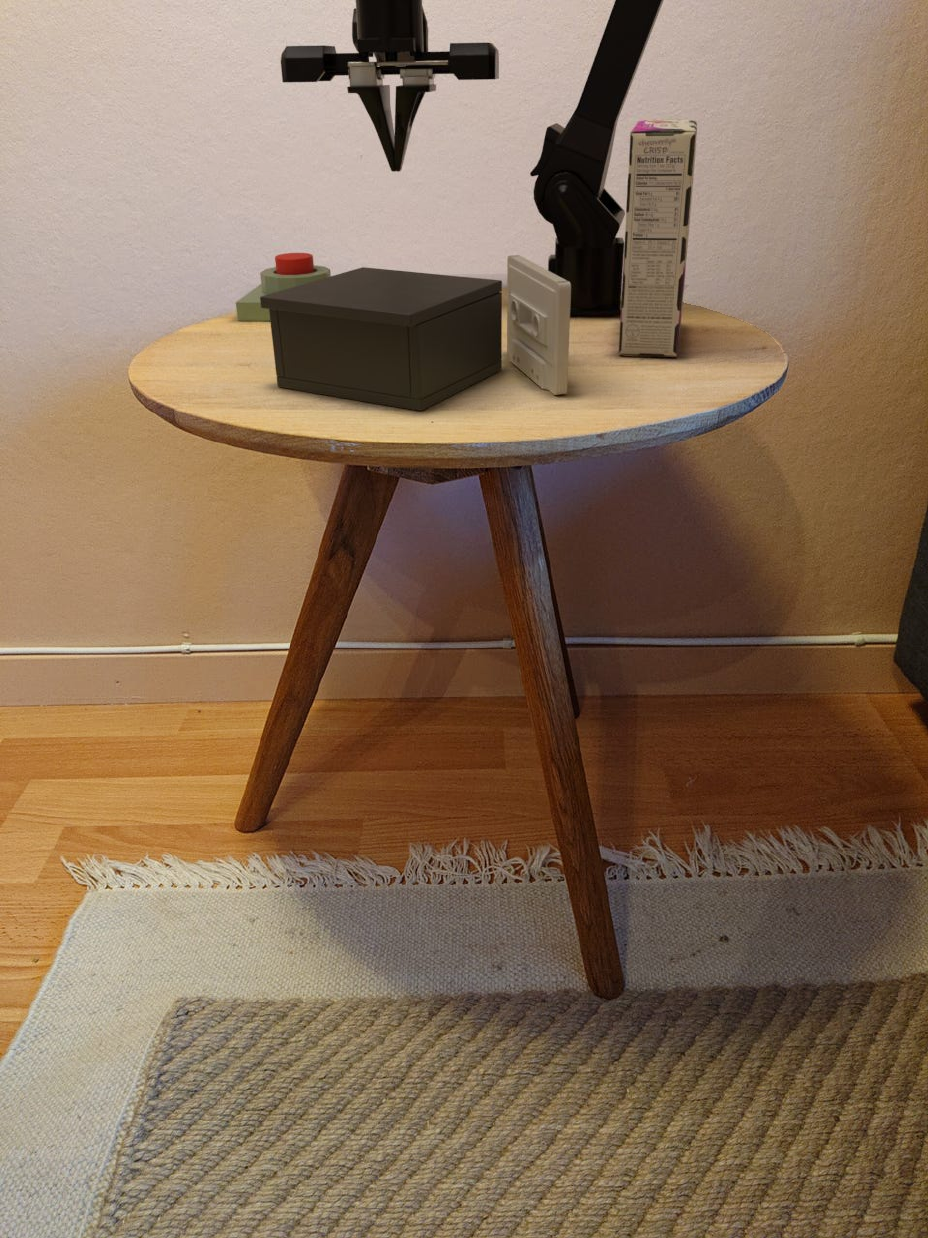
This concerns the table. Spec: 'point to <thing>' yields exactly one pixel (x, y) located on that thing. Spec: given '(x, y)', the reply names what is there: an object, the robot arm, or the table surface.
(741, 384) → the table surface
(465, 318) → the black lidded box
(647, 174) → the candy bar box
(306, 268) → the button
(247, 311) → the switch block
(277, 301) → the lid
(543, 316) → the cassette
